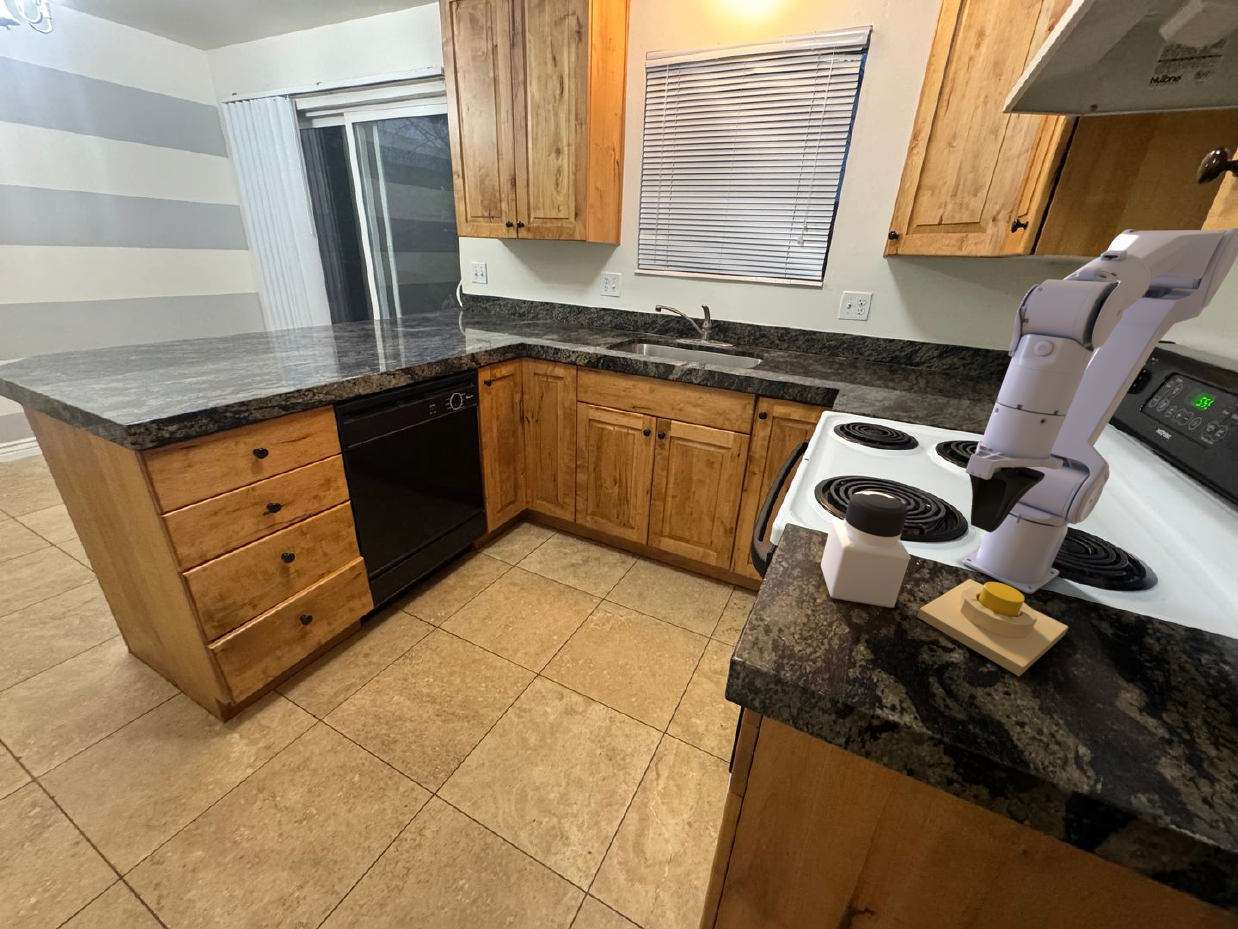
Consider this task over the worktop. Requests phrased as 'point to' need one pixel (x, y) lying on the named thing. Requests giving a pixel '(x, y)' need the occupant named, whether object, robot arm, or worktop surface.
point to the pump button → (1001, 599)
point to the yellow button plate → (993, 627)
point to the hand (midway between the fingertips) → (983, 527)
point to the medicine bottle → (867, 551)
